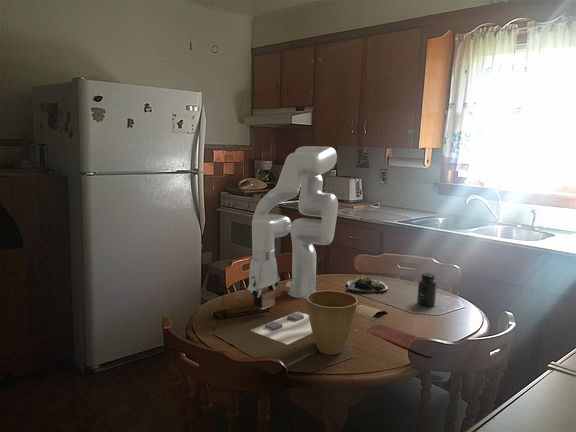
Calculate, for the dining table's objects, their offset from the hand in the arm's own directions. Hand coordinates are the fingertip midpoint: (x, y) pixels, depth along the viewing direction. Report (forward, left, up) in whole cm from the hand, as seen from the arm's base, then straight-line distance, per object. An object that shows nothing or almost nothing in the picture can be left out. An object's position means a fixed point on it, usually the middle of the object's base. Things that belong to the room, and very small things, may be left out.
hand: (264, 303), depth 164 cm
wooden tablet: (+45, +17, -6) cm, 48 cm away
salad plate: (+7, +56, -6) cm, 56 cm away
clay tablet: (+24, +29, -6) cm, 38 cm away
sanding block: (0, 0, -1) cm, 1 cm away
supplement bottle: (+35, +54, -5) cm, 64 cm away
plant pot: (+32, -5, -5) cm, 33 cm away
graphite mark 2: (+10, +5, -4) cm, 12 cm away
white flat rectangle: (+14, -1, -5) cm, 15 cm away
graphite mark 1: (+10, -6, -4) cm, 13 cm away
